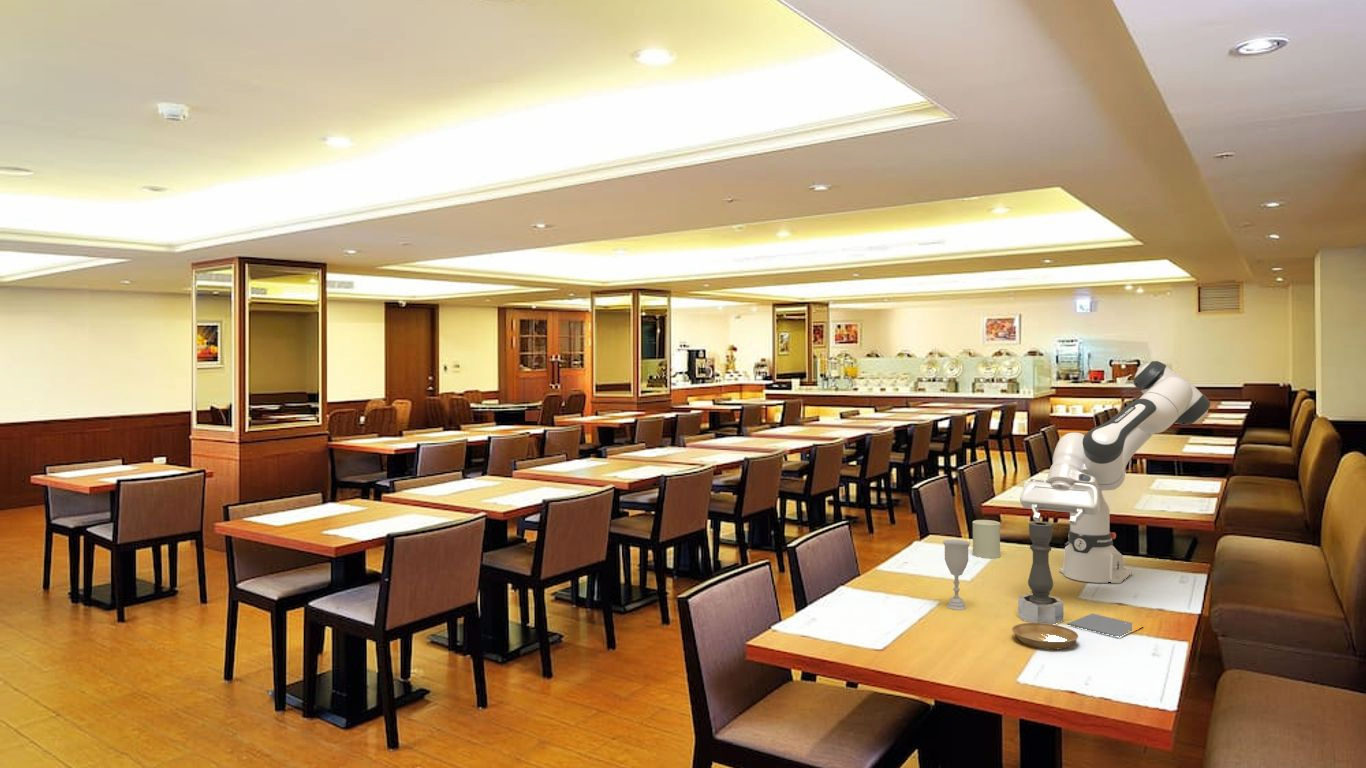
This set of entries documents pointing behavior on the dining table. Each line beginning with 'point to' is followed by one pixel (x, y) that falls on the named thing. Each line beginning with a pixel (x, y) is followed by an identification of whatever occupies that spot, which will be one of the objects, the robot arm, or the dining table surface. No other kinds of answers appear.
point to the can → (986, 539)
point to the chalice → (956, 567)
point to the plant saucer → (1034, 630)
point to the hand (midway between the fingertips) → (1054, 522)
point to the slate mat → (1103, 625)
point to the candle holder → (1040, 562)
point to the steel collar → (1040, 610)
